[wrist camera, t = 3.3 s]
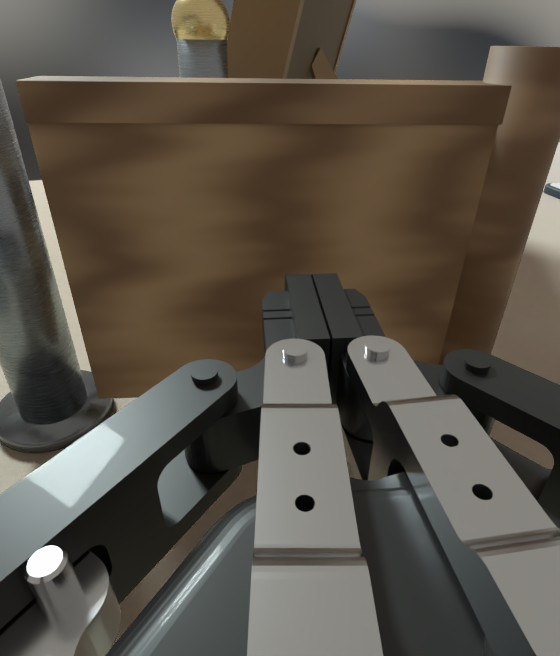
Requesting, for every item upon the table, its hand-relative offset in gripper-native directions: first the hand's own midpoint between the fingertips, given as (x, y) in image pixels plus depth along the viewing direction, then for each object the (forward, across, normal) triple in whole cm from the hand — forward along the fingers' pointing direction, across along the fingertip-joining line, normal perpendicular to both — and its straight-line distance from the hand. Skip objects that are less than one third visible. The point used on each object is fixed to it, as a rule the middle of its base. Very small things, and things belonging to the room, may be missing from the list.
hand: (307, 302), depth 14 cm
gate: (+6, 0, +8) cm, 10 cm away
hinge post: (+6, +11, +9) cm, 15 cm away
